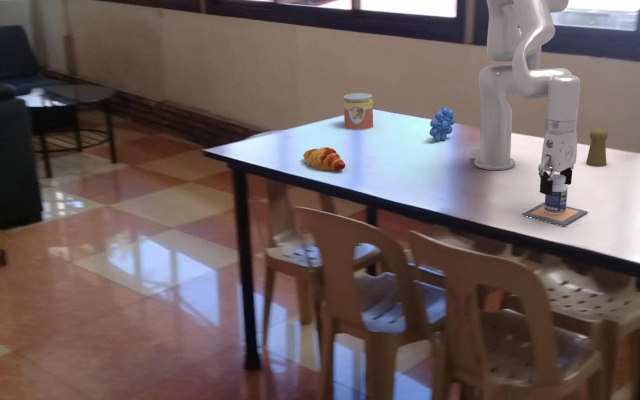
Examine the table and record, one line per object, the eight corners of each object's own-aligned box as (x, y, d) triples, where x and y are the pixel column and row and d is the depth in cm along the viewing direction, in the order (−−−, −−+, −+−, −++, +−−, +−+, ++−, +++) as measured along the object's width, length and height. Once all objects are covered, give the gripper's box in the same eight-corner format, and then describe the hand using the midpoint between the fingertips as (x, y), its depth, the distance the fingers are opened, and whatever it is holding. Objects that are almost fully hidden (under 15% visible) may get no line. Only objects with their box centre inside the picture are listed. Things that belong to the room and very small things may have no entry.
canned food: (342, 130, 284) (341, 99, 279) (346, 122, 294) (345, 93, 290) (371, 130, 282) (371, 99, 278) (374, 122, 292) (374, 92, 288)
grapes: (445, 135, 270) (446, 103, 266) (459, 138, 265) (459, 106, 261) (421, 141, 264) (422, 108, 260) (434, 145, 259) (435, 111, 255)
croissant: (298, 171, 249) (288, 153, 245) (318, 152, 253) (308, 134, 248) (338, 184, 233) (328, 165, 229) (359, 163, 237) (349, 144, 232)
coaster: (522, 215, 193) (522, 213, 193) (545, 203, 201) (546, 201, 201) (564, 226, 185) (564, 224, 185) (587, 213, 193) (587, 211, 193)
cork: (607, 166, 228) (611, 132, 224) (587, 166, 229) (590, 131, 226) (604, 161, 234) (608, 127, 230) (584, 160, 235) (587, 127, 231)
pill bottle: (562, 216, 190) (565, 180, 186) (541, 213, 192) (543, 178, 189) (568, 210, 194) (570, 174, 190) (547, 206, 196) (549, 172, 193)
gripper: (557, 135, 177) (551, 201, 183) (591, 119, 188) (585, 182, 194) (529, 129, 182) (524, 194, 188) (564, 115, 193) (559, 176, 199)
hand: (555, 188), depth 191 cm, fingers open, 9 cm apart
